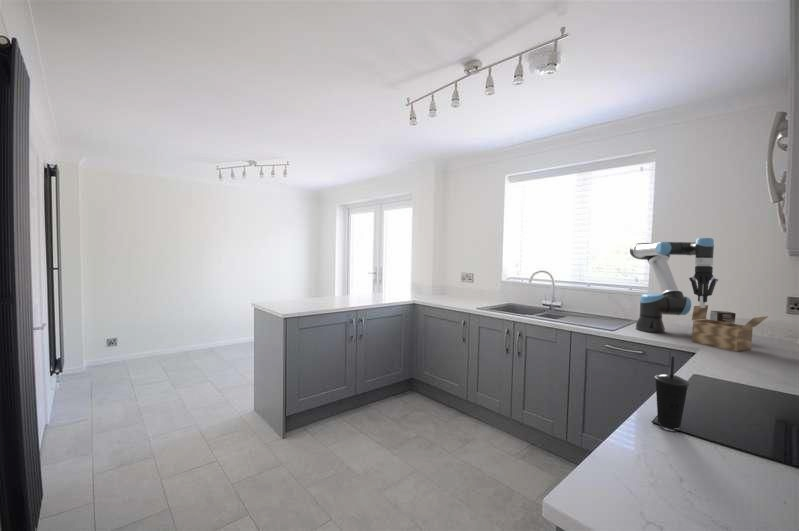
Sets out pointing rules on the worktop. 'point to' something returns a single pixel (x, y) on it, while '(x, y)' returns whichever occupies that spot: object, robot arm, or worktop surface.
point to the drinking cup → (670, 398)
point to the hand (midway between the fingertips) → (702, 307)
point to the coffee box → (723, 316)
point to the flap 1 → (699, 312)
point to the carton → (722, 335)
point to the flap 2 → (754, 322)
